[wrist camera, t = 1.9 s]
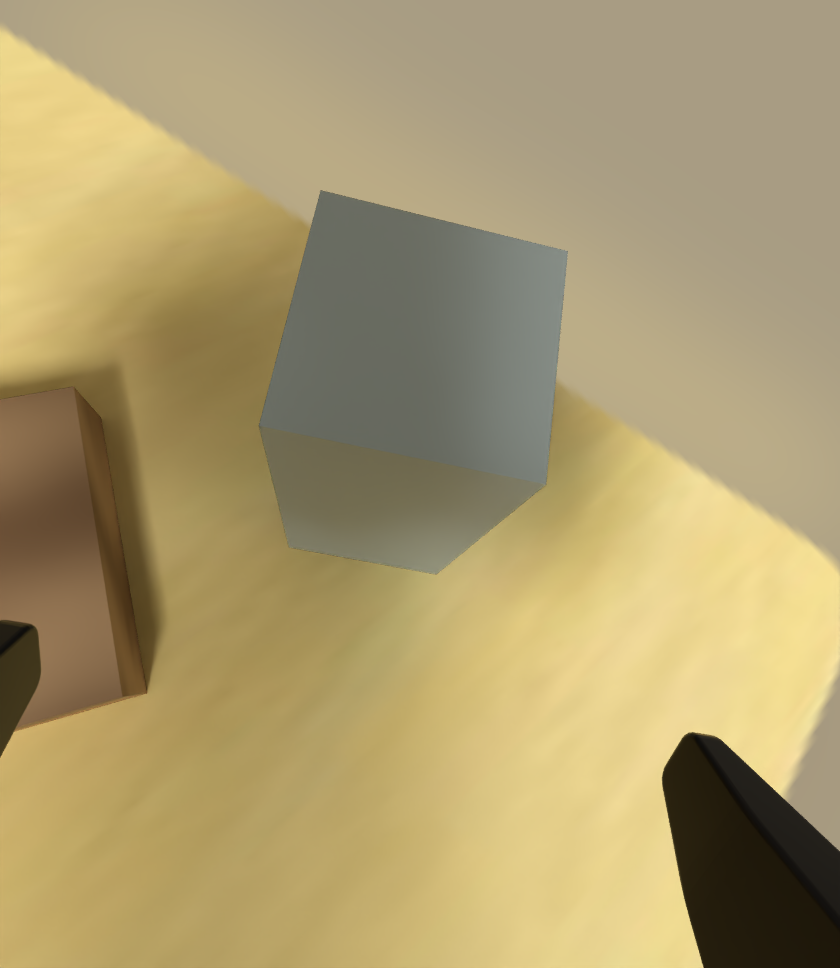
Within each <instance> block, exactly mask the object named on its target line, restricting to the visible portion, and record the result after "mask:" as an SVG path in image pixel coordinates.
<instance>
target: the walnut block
mask: <svg viewBox="0 0 840 968" xmlns="http://www.w3.org/2000/svg"><path fill="white" fill-rule="evenodd" d="M0 620H10V621H17V622H23V623H29V624H32V625H34V626H35V627H36V628H37V630H38V635H39V647H40V659H41V677H40V681H39V684H38V687H37V689H36V691H35V693H34V695H33V697H32V699H31V700H30V702H29V704H28V706H27V708H26V710H25V712H24V714H23V715H22V717H21V719H20V721H19V723H18V725H17V727H16V729H15V731H18V730H22V729H25V728H29V727H32V726H35V725H39V724H42V723H46V722H49V721H53V720H56V719H60V718H63V717H67V716H70V715H73V714H77V713H80V712H84V711H87V710H91V709H94V708H98V707H101V706H105V705H108V704H111V703H115V702H118V701H122V700H125V699H129V698H132V697H136V696H139V695H143V694H146V693H147V690H146V684H145V678H144V672H143V666H142V660H141V654H140V648H139V642H138V636H137V630H136V625H135V619H134V613H133V607H132V601H131V595H130V589H129V583H128V577H127V571H126V565H125V559H124V553H123V547H122V541H121V535H120V529H119V523H118V517H117V511H116V505H115V499H114V493H113V487H112V481H111V475H110V469H109V463H108V457H107V451H106V445H105V439H104V433H103V427H102V421H101V417H100V416H99V415H98V414H97V413H96V412H95V410H94V409H93V408H92V407H91V406H90V405H89V404H88V402H87V401H86V400H85V399H84V398H83V397H82V396H81V395H80V393H79V392H78V391H77V390H76V389H75V388H74V387H68V388H62V389H57V390H51V391H45V392H40V393H34V394H28V395H23V396H17V397H11V398H6V399H0ZM15 731H14V732H15Z"/></svg>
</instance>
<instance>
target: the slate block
mask: <svg viewBox="0 0 840 968" xmlns="http://www.w3.org/2000/svg"><path fill="white" fill-rule="evenodd" d="M567 254H568V251H565V250H561V249H557V248H553V247H548V246H545V245H541V244H536V243H532V242H528V241H524V240H520V239H516V238H512V237H508V236H504V235H500V234H496V233H492V232H487V231H484V230H480V229H476V228H471V227H467V226H463V225H459V224H455V223H451V222H447V221H443V220H439V219H435V218H431V217H427V216H423V215H419V214H415V213H411V212H407V211H403V210H398V209H394V208H390V207H386V206H382V205H378V204H374V203H370V202H366V201H362V200H358V199H354V198H350V197H346V196H342V195H338V194H334V193H330V192H325V191H322V190H321V191H320V195H319V199H318V203H317V206H316V210H315V214H314V218H313V222H312V225H311V229H310V233H309V237H308V241H307V244H306V248H305V252H304V256H303V260H302V263H301V267H300V271H299V275H298V279H297V283H296V286H295V290H294V294H293V298H292V302H291V305H290V309H289V313H288V317H287V321H286V324H285V328H284V332H283V336H282V340H281V343H280V347H279V351H278V355H277V359H276V362H275V366H274V370H273V374H272V378H271V382H270V385H269V389H268V393H267V397H266V401H265V404H264V408H263V412H262V416H261V420H260V423H259V428H260V432H261V436H262V441H263V445H264V449H265V453H266V457H267V461H268V465H269V469H270V473H271V477H272V481H273V485H274V489H275V493H276V497H277V501H278V505H279V509H280V513H281V517H282V521H283V525H284V530H285V534H286V538H287V542H288V546H289V547H290V548H295V549H301V550H306V551H312V552H317V553H322V554H328V555H333V556H339V557H344V558H350V559H355V560H360V561H366V562H371V563H377V564H382V565H388V566H393V567H399V568H404V569H409V570H415V571H420V572H426V573H431V574H438V573H439V572H440V571H441V570H442V569H444V568H445V567H446V566H447V565H448V564H450V563H451V562H452V561H453V560H455V559H456V558H457V557H458V556H459V555H461V554H462V553H463V552H464V551H466V550H467V549H468V548H469V547H470V546H472V545H473V544H474V543H475V542H476V541H478V540H479V539H480V538H481V537H483V536H484V535H485V534H486V533H487V532H489V531H490V530H491V529H492V528H494V527H495V526H496V525H497V524H498V523H500V522H501V521H502V520H503V519H504V518H506V517H507V516H508V515H509V514H511V513H512V512H513V511H514V510H515V509H517V508H518V507H519V506H520V505H522V504H523V503H524V502H525V501H526V500H528V499H529V498H530V497H531V496H532V495H534V494H535V493H536V492H537V491H539V490H540V489H541V488H542V487H543V486H545V485H546V480H547V469H548V458H549V448H550V437H551V426H552V415H553V405H554V394H555V383H556V372H557V362H558V351H559V340H560V329H561V318H562V308H563V297H564V286H565V276H566V265H567Z"/></svg>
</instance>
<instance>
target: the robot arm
mask: <svg viewBox="0 0 840 968" xmlns="http://www.w3.org/2000/svg"><path fill="white" fill-rule="evenodd" d="M40 677H41V659H40V647H39V635H38V630H37V628H36V627H35V626H34V625H32V624H29V623H23V622H17V621H10V620H0V757H1V755H2V753H3V751H4V749H5V748H6V746H7V744H8V742H9V740H10V738H11V736H12V734H13V732H14V731H15V729H16V727H17V725H18V723H19V721H20V719H21V717H22V715H23V714H24V712H25V710H26V708H27V706H28V704H29V702H30V700H31V699H32V697H33V695H34V693H35V691H36V689H37V687H38V684H39V681H40ZM662 785H663V791H664V797H665V802H666V807H667V812H668V818H669V823H670V828H671V834H672V839H673V844H674V849H675V855H676V860H677V865H678V871H679V876H680V881H681V885H682V890H683V894H684V899H685V903H686V907H687V910H688V914H689V918H690V922H691V925H692V929H693V932H694V936H695V939H696V943H697V946H698V950H699V953H700V957H701V960H702V964H703V967H704V968H840V851H839V850H838V849H836V847H834V846H833V845H832V844H831V843H830V842H829V841H828V840H827V839H826V838H825V837H824V836H823V835H821V834H820V833H819V832H818V831H817V830H816V829H815V828H814V827H813V826H812V825H811V824H810V823H809V822H808V821H807V820H806V819H804V817H803V816H801V815H800V814H799V813H798V812H797V811H796V810H795V809H794V808H793V807H792V806H791V805H790V804H789V803H788V802H787V801H786V800H784V799H783V798H782V797H781V796H780V795H779V794H778V793H777V792H776V791H775V790H774V789H773V788H772V787H771V786H770V785H769V784H767V783H766V782H765V781H764V780H763V779H762V778H761V777H760V776H759V775H758V774H757V773H756V772H755V771H754V770H753V769H751V768H750V767H749V766H748V765H747V764H746V763H745V762H744V761H743V760H742V759H741V758H740V757H739V756H738V755H737V754H736V753H734V752H733V751H732V750H731V749H730V748H729V747H728V746H727V745H726V744H725V743H724V742H723V741H722V740H720V739H719V738H717V737H715V736H712V735H706V734H700V733H694V732H690V733H688V734H686V735H684V737H683V738H682V739H681V741H680V743H679V744H678V746H677V748H676V749H675V751H674V752H673V754H672V756H671V757H670V759H669V761H668V762H667V764H666V766H665V768H664V771H663V776H662Z"/></svg>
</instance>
